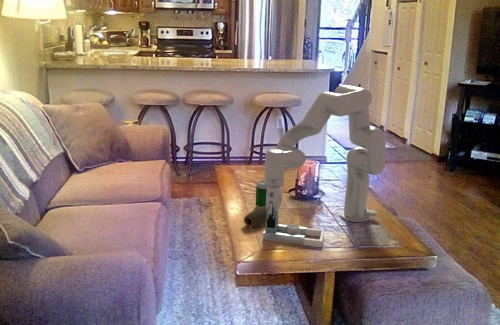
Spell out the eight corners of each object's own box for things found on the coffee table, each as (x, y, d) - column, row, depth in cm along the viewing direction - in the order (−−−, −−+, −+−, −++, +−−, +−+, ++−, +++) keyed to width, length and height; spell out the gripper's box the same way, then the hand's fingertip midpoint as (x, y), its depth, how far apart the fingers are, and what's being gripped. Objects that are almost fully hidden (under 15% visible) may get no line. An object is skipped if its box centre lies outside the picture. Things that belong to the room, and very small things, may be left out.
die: (300, 240, 199) (301, 228, 197) (288, 241, 198) (288, 229, 196) (296, 235, 203) (297, 223, 202) (284, 235, 202) (285, 224, 201)
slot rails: (306, 234, 204) (306, 227, 203) (303, 244, 195) (304, 237, 194) (267, 229, 207) (267, 223, 206) (262, 239, 198) (263, 232, 197)
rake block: (277, 232, 205) (279, 204, 201) (275, 238, 199) (276, 209, 196) (267, 231, 205) (269, 203, 202) (265, 236, 200) (266, 208, 196)
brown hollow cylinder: (261, 216, 222) (262, 201, 220) (275, 220, 218) (276, 205, 217) (241, 226, 210) (242, 211, 208) (256, 230, 206) (256, 215, 205)
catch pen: (323, 235, 203) (324, 230, 203) (321, 247, 193) (322, 241, 192) (306, 233, 205) (306, 228, 204) (303, 245, 194) (303, 239, 194)
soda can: (270, 211, 228) (271, 186, 225) (253, 209, 229) (254, 184, 226) (272, 205, 235) (274, 181, 232) (257, 204, 236) (258, 179, 233)
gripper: (280, 188, 187) (278, 233, 192) (286, 175, 203) (284, 217, 208) (260, 186, 189) (258, 231, 193) (268, 174, 205) (266, 215, 210)
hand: (272, 223), depth 201 cm, fingers closed on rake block, 6 cm apart
